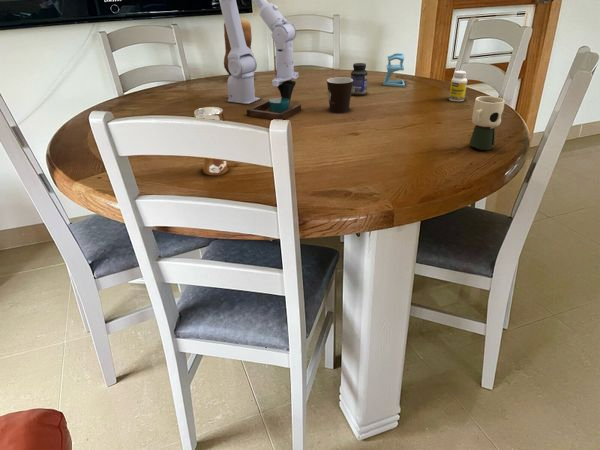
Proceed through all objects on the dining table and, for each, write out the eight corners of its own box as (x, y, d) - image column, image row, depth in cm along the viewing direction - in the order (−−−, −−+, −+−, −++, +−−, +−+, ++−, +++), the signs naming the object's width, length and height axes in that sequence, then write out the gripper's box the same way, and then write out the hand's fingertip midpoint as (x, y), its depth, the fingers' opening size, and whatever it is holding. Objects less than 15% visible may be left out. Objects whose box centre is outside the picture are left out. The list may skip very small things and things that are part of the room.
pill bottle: (367, 96, 172) (368, 65, 167) (350, 96, 172) (352, 65, 167) (365, 92, 178) (367, 62, 172) (349, 92, 178) (350, 62, 172)
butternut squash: (263, 78, 202) (259, 16, 190) (243, 84, 192) (238, 19, 180) (238, 74, 209) (233, 14, 196) (218, 81, 199) (212, 18, 187)
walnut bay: (247, 115, 154) (246, 109, 153) (268, 105, 164) (268, 100, 163) (281, 120, 148) (281, 114, 147) (301, 110, 158) (301, 104, 157)
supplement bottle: (447, 101, 164) (451, 72, 159) (449, 97, 168) (453, 69, 163) (463, 102, 162) (468, 73, 157) (465, 98, 166) (469, 70, 162)
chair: (383, 82, 191) (385, 51, 185) (403, 82, 190) (406, 51, 184) (383, 86, 184) (385, 55, 178) (404, 87, 183) (407, 55, 177)
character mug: (482, 156, 118) (491, 106, 112) (457, 149, 123) (465, 100, 117) (504, 146, 124) (514, 98, 118) (480, 139, 129) (488, 93, 123)
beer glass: (203, 166, 117) (195, 107, 109) (230, 164, 117) (224, 105, 110) (200, 177, 111) (191, 115, 103) (229, 175, 111) (222, 114, 104)
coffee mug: (350, 114, 153) (351, 83, 148) (324, 113, 154) (324, 82, 149) (354, 104, 162) (355, 75, 157) (329, 103, 164) (330, 75, 159)
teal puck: (265, 111, 157) (265, 101, 156) (276, 106, 163) (276, 96, 161) (283, 114, 154) (282, 103, 152) (293, 108, 159) (293, 98, 158)
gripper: (284, 67, 147) (285, 109, 154) (305, 59, 158) (306, 99, 165) (265, 65, 150) (268, 107, 157) (288, 58, 161) (289, 97, 168)
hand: (286, 102), depth 161 cm, fingers closed
